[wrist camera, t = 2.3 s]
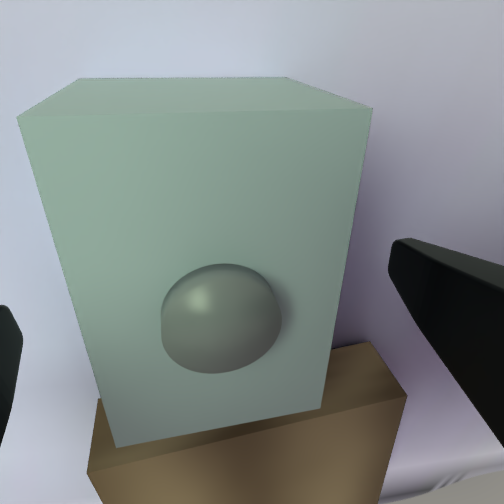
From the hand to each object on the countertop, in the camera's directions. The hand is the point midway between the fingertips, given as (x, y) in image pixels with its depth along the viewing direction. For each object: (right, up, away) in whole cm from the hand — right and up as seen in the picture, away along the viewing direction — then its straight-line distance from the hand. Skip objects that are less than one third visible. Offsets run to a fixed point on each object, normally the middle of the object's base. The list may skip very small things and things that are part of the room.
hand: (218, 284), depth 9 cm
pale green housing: (-1, +2, +3) cm, 4 cm away
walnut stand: (+1, -8, +10) cm, 13 cm away
